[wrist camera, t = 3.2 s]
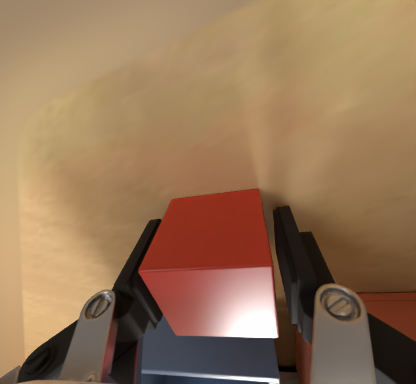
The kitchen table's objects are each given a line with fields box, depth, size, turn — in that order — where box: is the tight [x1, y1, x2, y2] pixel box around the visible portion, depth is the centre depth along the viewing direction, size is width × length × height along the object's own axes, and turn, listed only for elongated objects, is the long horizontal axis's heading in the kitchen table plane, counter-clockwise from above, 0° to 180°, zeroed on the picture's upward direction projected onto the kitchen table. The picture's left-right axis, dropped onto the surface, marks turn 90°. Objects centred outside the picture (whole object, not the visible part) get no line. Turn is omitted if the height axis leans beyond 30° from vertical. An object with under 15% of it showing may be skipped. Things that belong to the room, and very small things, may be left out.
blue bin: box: [141, 315, 280, 384], centre depth 16 cm, size 11×11×4 cm
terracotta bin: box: [296, 292, 416, 384], centre depth 13 cm, size 11×11×4 cm
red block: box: [139, 189, 279, 338], centre depth 9 cm, size 4×4×4 cm
